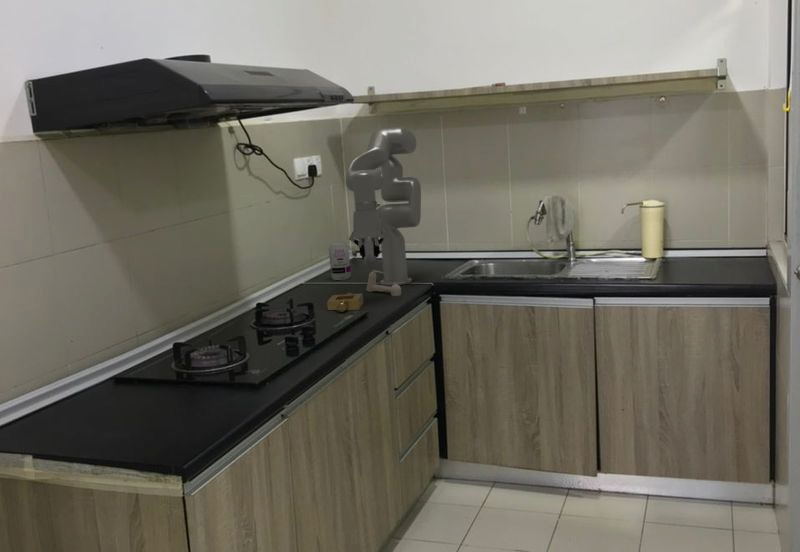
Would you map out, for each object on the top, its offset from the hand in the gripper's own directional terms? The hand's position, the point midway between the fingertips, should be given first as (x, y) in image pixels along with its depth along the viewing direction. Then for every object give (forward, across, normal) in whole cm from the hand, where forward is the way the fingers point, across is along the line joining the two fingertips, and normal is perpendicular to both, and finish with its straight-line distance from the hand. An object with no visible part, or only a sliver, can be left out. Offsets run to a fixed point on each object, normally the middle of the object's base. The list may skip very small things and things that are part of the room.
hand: (370, 256), depth 307 cm
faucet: (+17, -2, -13) cm, 22 cm away
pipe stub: (+2, 0, 0) cm, 2 cm away
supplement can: (+17, +20, -49) cm, 56 cm away
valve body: (+16, +9, +9) cm, 20 cm away
